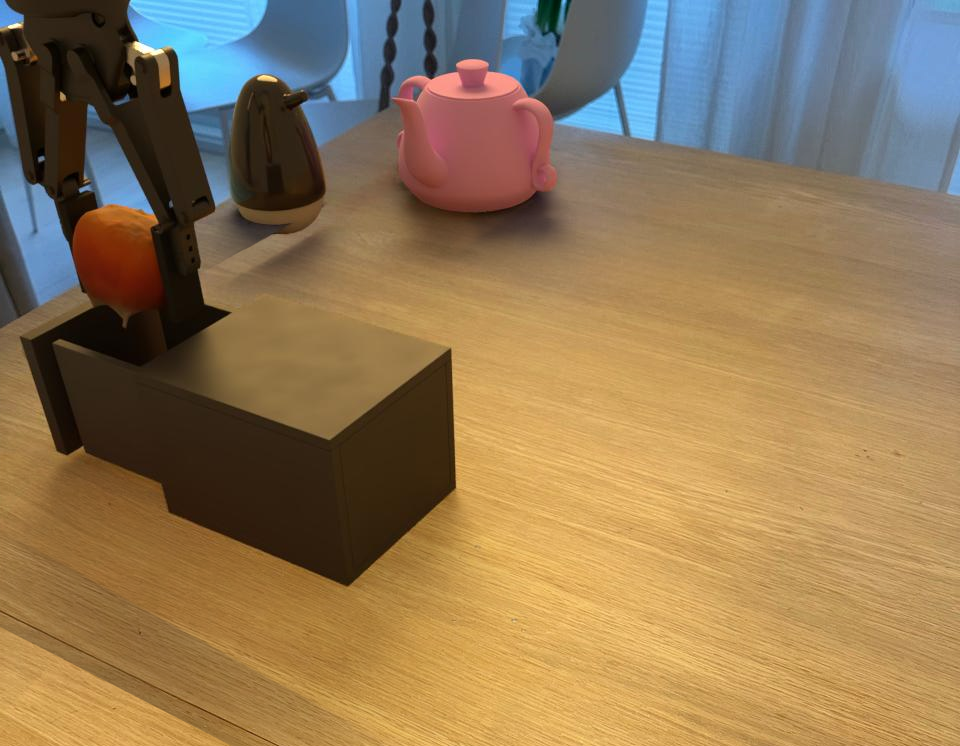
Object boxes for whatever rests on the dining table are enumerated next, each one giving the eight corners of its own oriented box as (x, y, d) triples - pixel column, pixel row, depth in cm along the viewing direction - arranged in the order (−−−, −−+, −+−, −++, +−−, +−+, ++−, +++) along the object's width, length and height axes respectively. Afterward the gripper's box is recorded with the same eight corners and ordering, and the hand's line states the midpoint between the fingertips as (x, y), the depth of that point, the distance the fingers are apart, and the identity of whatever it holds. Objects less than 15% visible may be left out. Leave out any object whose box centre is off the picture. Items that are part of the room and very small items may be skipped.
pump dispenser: (292, 252, 114) (271, 96, 104) (217, 232, 118) (190, 80, 108) (350, 219, 120) (336, 69, 110) (277, 201, 125) (257, 55, 114)
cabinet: (168, 512, 80) (132, 371, 73) (285, 427, 89) (265, 292, 81) (347, 587, 74) (329, 440, 66) (456, 488, 82) (451, 347, 74)
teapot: (327, 210, 122) (312, 76, 113) (443, 153, 135) (438, 29, 126) (486, 255, 113) (485, 114, 103) (595, 189, 126) (602, 58, 116)
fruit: (34, 301, 76) (54, 182, 73) (122, 318, 82) (142, 209, 80) (115, 330, 72) (138, 206, 70) (199, 345, 79) (222, 233, 77)
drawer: (18, 436, 87) (-22, 321, 80) (131, 369, 94) (103, 260, 88) (205, 512, 79) (177, 392, 72) (311, 432, 87) (296, 317, 80)
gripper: (235, -68, 61) (289, 313, 77) (-14, -98, 69) (80, 250, 85) (138, -42, 56) (216, 358, 72) (-116, -77, 65) (3, 287, 80)
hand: (142, 299), depth 78 cm, fingers closed on fruit, 8 cm apart
